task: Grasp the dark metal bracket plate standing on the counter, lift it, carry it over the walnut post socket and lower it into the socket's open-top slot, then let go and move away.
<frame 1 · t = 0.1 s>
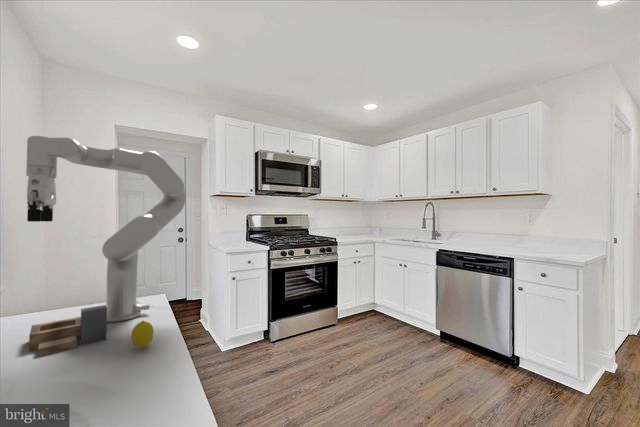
hand: (40, 221, 98), 37 cm above the countertop, tool pointing down, fingers open, 9 cm apart
lemon: (142, 349, 81), on the countertop
post socket: (58, 339, 87), on the countertop
bracket: (93, 340, 86), on the countertop
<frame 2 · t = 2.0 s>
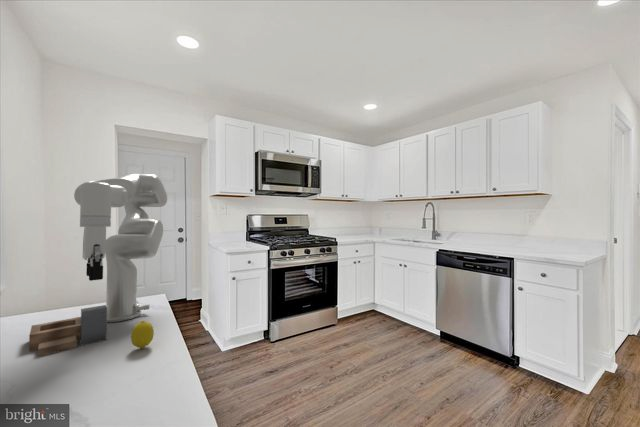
hand: (94, 277, 87), 19 cm above the countertop, tool pointing down, fingers open, 9 cm apart
nothing on the countertop moved.
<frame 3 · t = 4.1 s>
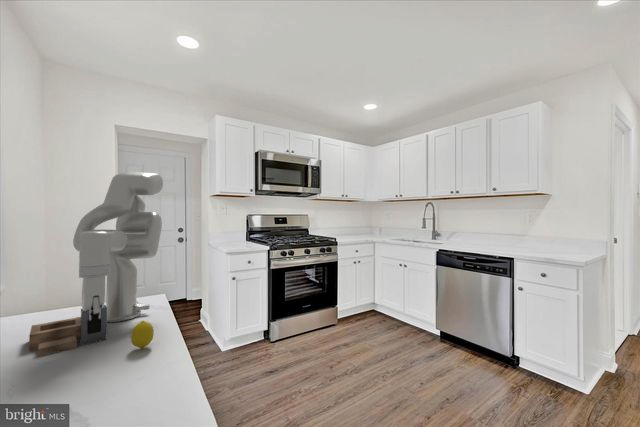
hand: (93, 330, 86), 3 cm above the countertop, tool pointing down, fingers closed on bracket, 3 cm apart
bracket: (93, 340, 86), on the countertop, touching gripper
everything else where it was.
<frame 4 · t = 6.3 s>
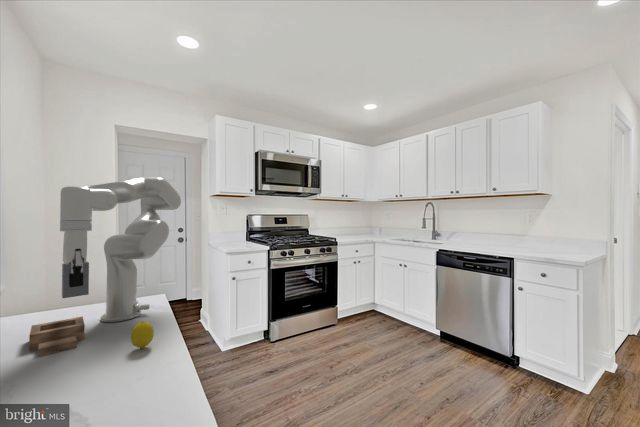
hand: (75, 284, 87), 17 cm above the countertop, tool pointing down, fingers closed on bracket, 3 cm apart
bracket: (75, 295, 87), point 14 cm above the countertop, touching gripper
everything else where it was.
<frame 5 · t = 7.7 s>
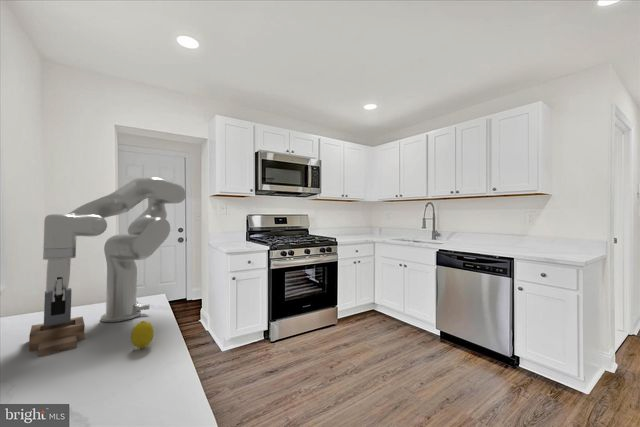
hand: (58, 312, 87), 8 cm above the countertop, tool pointing down, fingers closed on bracket, 3 cm apart
bracket: (57, 323, 87), point 5 cm above the countertop, touching gripper
everything else where it was.
when the fingers open (5 cm above the countertop, at t = 8.7 s): bracket drops 2 cm, resting in post socket.
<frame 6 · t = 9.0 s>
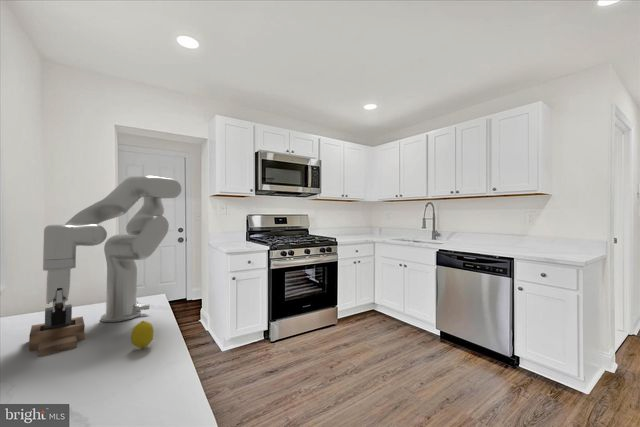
hand: (58, 321, 87), 6 cm above the countertop, tool pointing down, fingers open, 6 cm apart
bracket: (57, 339, 87), resting in post socket
everything else where it was.
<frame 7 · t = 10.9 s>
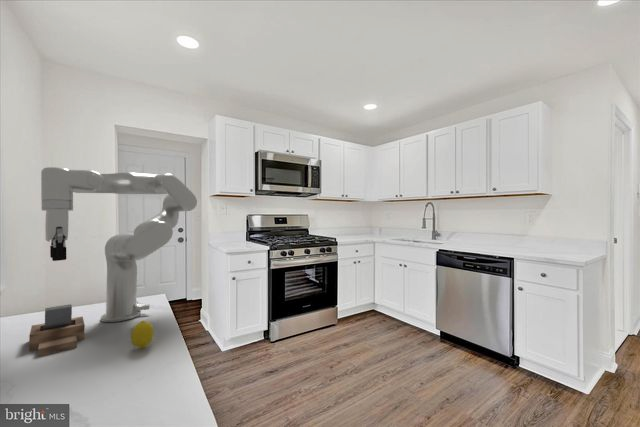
hand: (58, 258, 91), 25 cm above the countertop, tool pointing down, fingers open, 9 cm apart
nothing on the countertop moved.
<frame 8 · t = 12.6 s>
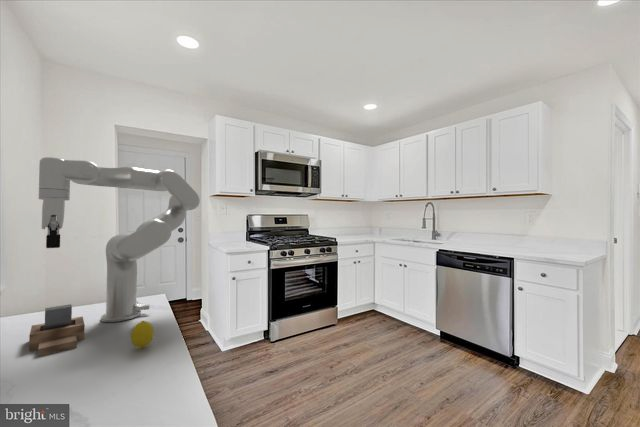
hand: (53, 246, 93), 28 cm above the countertop, tool pointing down, fingers open, 9 cm apart
nothing on the countertop moved.
at the end: bracket 0.0 cm off-centre on the post socket, point 0.0 cm above the post socket's base; bracket tilted 0°; the gripper is holding nothing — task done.
